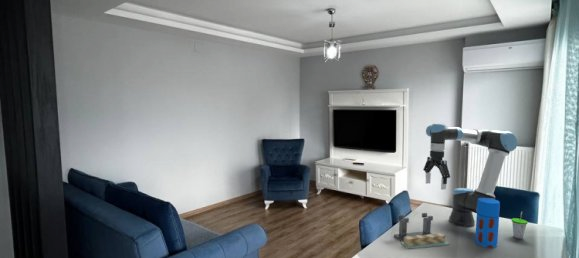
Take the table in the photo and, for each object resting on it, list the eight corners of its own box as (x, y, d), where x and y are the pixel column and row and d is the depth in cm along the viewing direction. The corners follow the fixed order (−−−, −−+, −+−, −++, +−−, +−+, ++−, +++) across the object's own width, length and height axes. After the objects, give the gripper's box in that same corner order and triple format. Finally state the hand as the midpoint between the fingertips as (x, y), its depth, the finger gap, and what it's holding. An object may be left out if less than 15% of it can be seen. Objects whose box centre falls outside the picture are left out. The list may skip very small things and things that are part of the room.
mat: (440, 239, 186) (440, 238, 186) (448, 244, 180) (449, 243, 179) (400, 243, 180) (400, 242, 180) (407, 248, 174) (407, 247, 174)
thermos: (500, 248, 175) (503, 204, 173) (479, 246, 177) (481, 202, 175) (492, 240, 186) (495, 198, 184) (472, 238, 188) (474, 197, 186)
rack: (427, 233, 195) (428, 212, 194) (435, 237, 188) (436, 216, 187) (393, 236, 190) (394, 215, 189) (400, 241, 183) (401, 219, 182)
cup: (518, 240, 186) (519, 215, 185) (507, 234, 194) (508, 210, 192) (529, 239, 187) (531, 214, 186) (518, 234, 195) (520, 210, 194)
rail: (440, 239, 184) (441, 233, 184) (445, 242, 181) (445, 235, 180) (403, 243, 179) (404, 236, 178) (407, 246, 175) (407, 239, 175)
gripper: (418, 147, 197) (416, 181, 198) (446, 153, 172) (444, 192, 174) (428, 147, 198) (427, 180, 200) (458, 153, 174) (456, 191, 176)
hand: (435, 186), depth 187 cm, fingers open, 13 cm apart
